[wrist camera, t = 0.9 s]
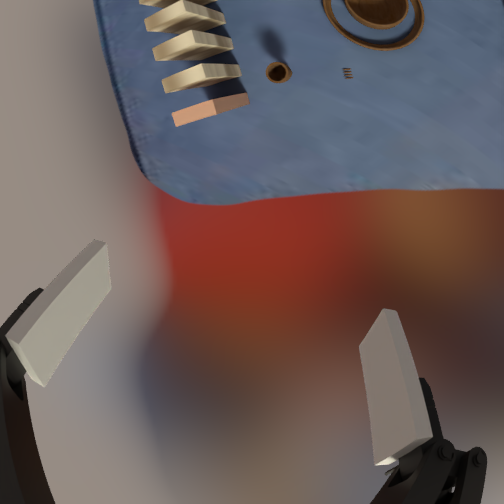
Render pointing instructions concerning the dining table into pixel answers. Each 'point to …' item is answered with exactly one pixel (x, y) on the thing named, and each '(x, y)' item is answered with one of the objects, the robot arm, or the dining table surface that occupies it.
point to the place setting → (371, 15)
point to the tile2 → (200, 76)
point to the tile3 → (192, 46)
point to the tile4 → (184, 18)
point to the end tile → (209, 108)
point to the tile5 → (172, 2)
